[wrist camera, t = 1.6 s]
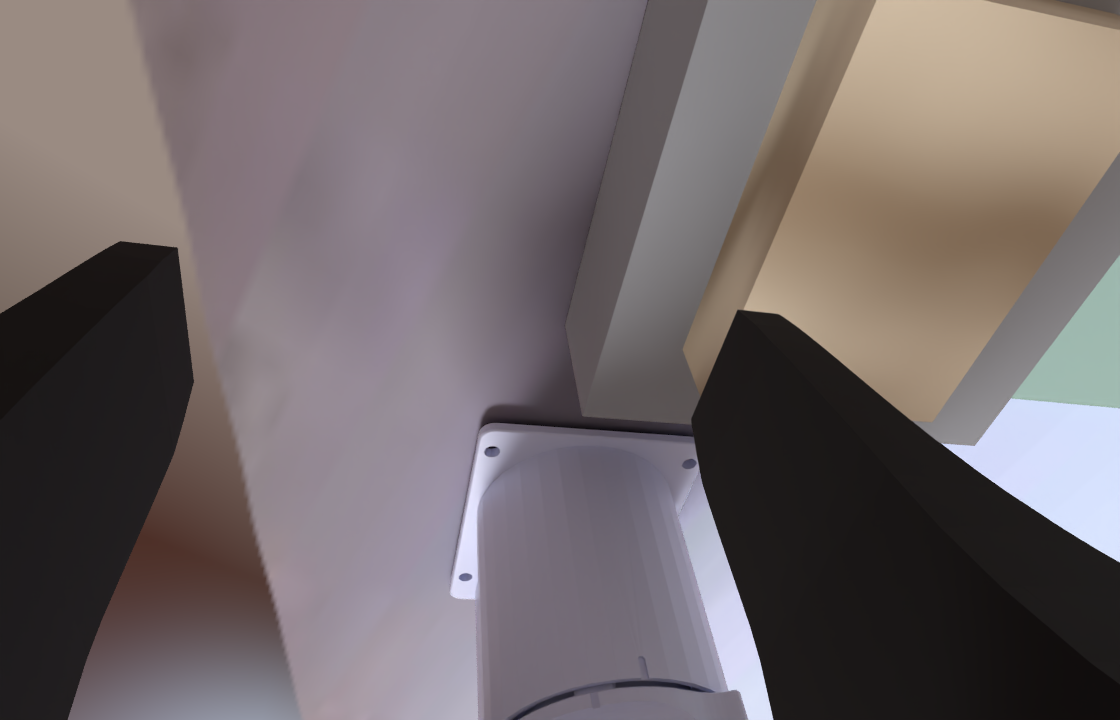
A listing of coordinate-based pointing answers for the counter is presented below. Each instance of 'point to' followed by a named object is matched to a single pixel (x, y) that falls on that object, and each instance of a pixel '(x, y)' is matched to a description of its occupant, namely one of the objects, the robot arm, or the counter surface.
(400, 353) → the counter surface
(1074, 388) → the mat
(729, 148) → the grey box
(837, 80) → the tan rectangular block
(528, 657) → the robot arm
